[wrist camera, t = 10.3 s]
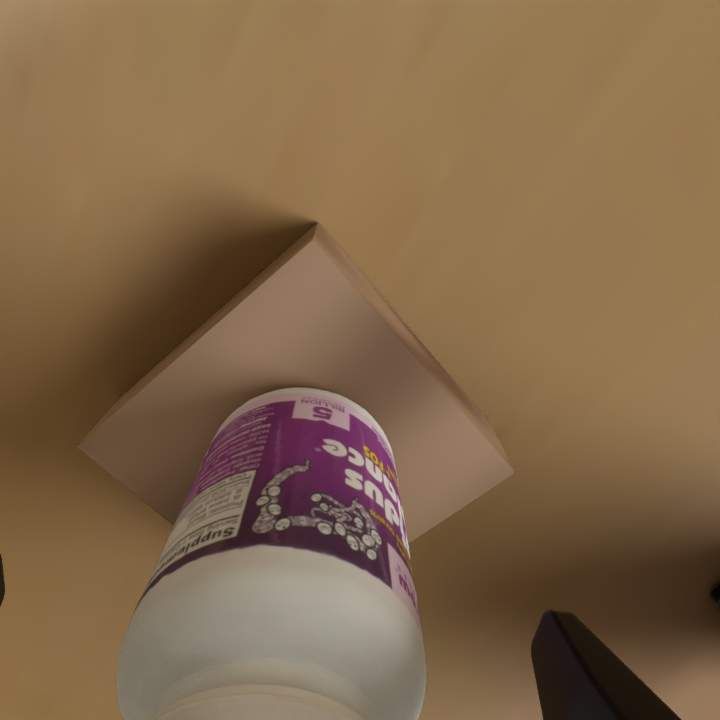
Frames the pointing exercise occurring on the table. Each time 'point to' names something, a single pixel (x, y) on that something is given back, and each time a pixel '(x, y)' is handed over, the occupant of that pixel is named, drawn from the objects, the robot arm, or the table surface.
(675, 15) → the table surface
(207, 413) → the tan flat square block
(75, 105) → the table surface
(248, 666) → the pill bottle
